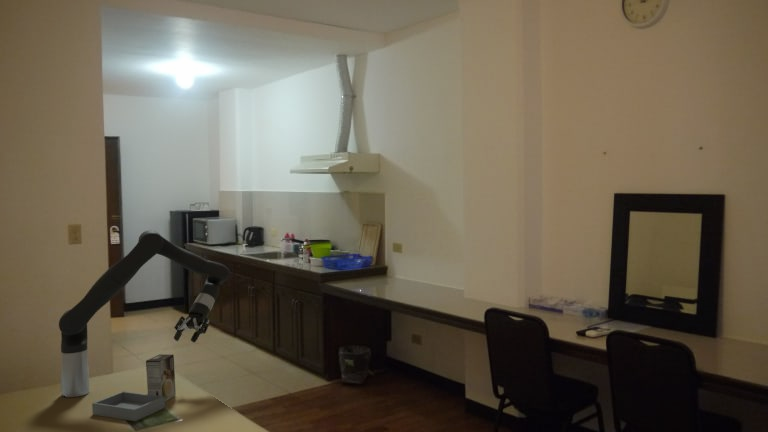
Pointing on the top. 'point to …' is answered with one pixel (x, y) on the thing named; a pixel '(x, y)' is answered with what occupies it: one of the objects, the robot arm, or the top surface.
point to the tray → (128, 405)
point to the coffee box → (161, 376)
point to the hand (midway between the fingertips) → (184, 340)
